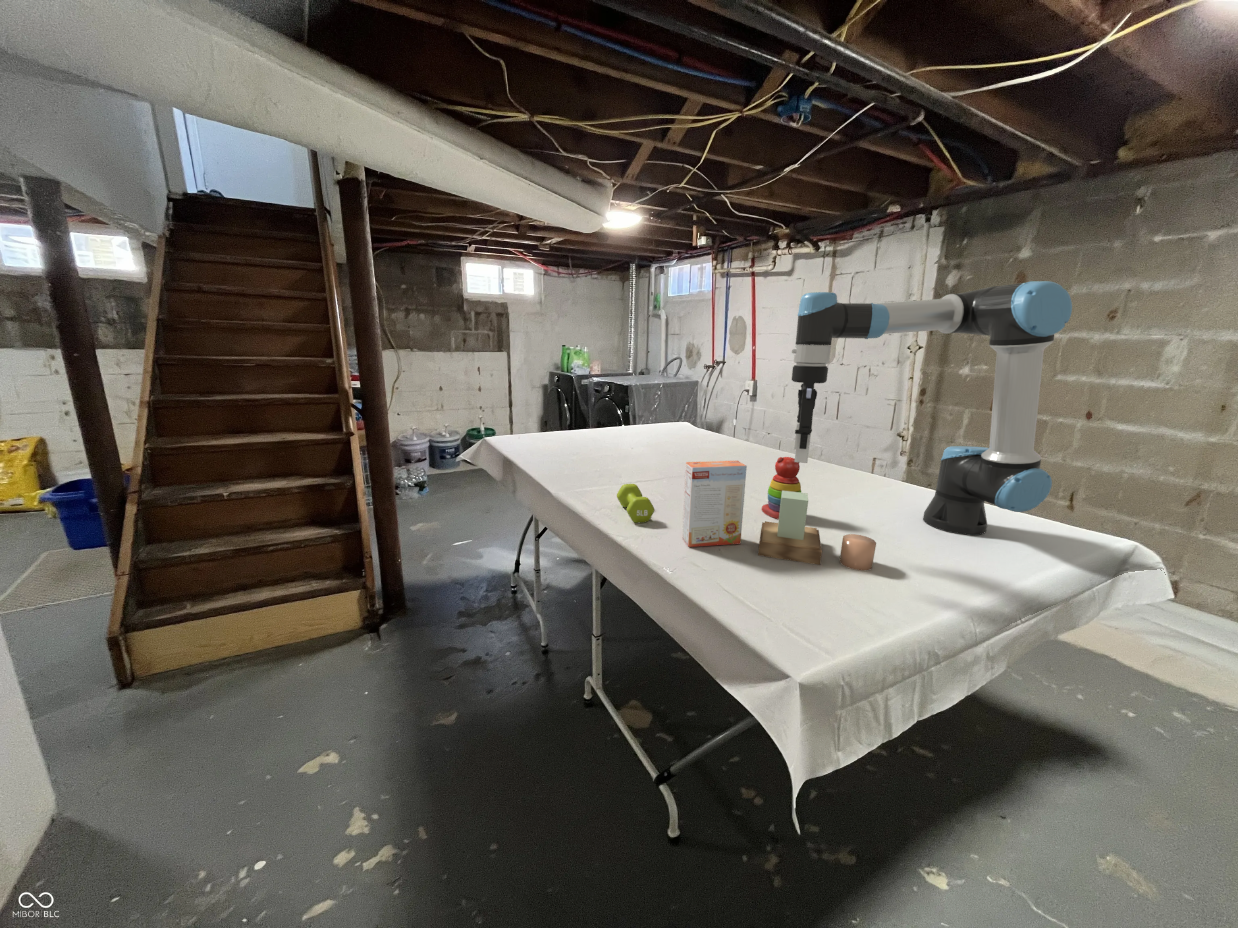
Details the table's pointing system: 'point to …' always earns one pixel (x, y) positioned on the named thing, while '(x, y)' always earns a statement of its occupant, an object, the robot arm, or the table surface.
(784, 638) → the table surface
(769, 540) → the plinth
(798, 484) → the stacking bear
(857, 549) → the peach rounded cylinder
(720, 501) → the cracker box
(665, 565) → the table surface
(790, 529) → the sage block
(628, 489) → the dumbbell
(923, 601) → the table surface
